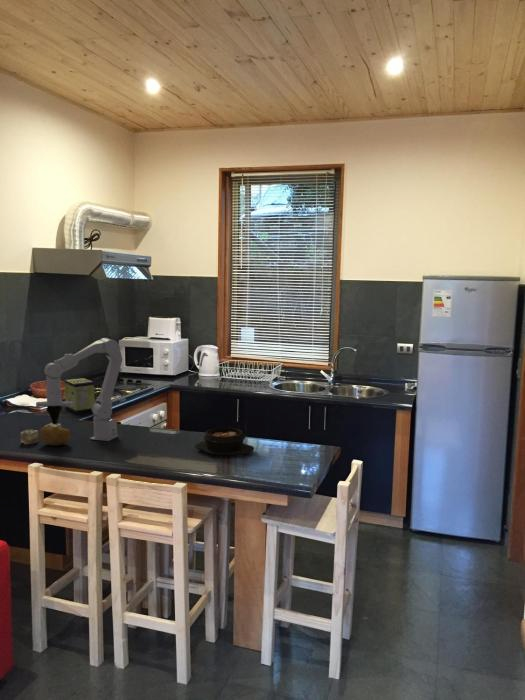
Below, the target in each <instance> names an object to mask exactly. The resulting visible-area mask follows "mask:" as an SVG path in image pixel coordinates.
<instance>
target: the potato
mask: <svg viewBox="0 0 525 700" xmlns="http://www.w3.org/2000/svg"><path fill="white" fill-rule="evenodd" d="M44 426H45V427H44ZM44 426H43V427H41V428H40V430H39V437H40V439H41V441H42V442H43V443H45V444H46V445H49V446H51V447H55V446H56V447H57V446H63V445H65V444H67V443H68V442H69V441H70V440H71V436H72V434H71V431H70V430H69V429H68V428H64V427H62V426H61V427H55V426H46V425H44Z"/></svg>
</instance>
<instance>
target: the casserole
mask: <svg viewBox="0 0 525 700" xmlns="http://www.w3.org/2000/svg"><path fill="white" fill-rule="evenodd" d="M243 432H244V431H243V430H242V429H239V428H236V427H229V426H228V427H227V426H226V427H215V428H211V429H208V430H207V431H205V434H204V436H203V439H204V440H203V441H200V442H198V443H196V444H195V445H194V448H195V449H197V450H201V451H203V452H205V453H208V454H211V455H215V456H223V457H225V456H232V455H236V456H242V455H247V454H250V453H251V452H254V450H255V446H252V445H251V444H247V443H245V442H244V440H245V439H246V436H245V434H244V433H243Z"/></svg>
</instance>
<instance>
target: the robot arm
mask: <svg viewBox="0 0 525 700" xmlns="http://www.w3.org/2000/svg"><path fill="white" fill-rule="evenodd" d="M96 353H98V354H104V355H105V356H106V358H107V359H108V361H109V362H108V365H107V367H106V372H105V375H104V380H103V382H102V385H101V389H100V392H99V395H98V396H97V397H96V399H95V403H94V404H93V405H92V411H91V413H92V414H93V420H92V421H93V436H92V437H89V440H94V441H104V442H105V441H107V442H109V441H112V440H114V439H115V438H118V437H119V435H118V427H117V426H118V425H117V420H116V419H114V418H111V416H112V414H113V408H112V407H113V400H112V397H113V394H114V390H115V387H116V384H117V382H118V381H117V380H118V377H119V374H120V370H121V367H122V364H123V356H122V352H121V346H120V344H119V343H118V342H117V341H116V340H115V339H110V338H109V337H103V338H100V339H99V340H96V341H94V342H92V343H91V344H89V345H88V346H86V347H84V348H83V349H81V350H80V351H77V352H76V353H74V354H73V353H65V354H64V355H63V357H61V358H58V359H55V360H53V362H49V363H47V364H46V365H45V367H44V369H43V373H44V374H45V378H46V379H45V380H46V381H45V384H46V385H45V386H46V387H45V388H46V389H45V390H46V401H45V400H44V401H37V402H35V407H36V408H45V407H46V412H47V413H48V415H49V416H50V419H51V423H53V424H59V422H58V421H59V417H60V414H61V411H62V409H63V408H64V407H65V408H66V407H72V406H73V402H69V401H65V400H62V381H61V376H62V374H63V373H65V372H67V371H69V370H70V369H72V368H74V367H76V366H78V364H79V363H78V362H79V361H81V360H83V359H86V358H87V357H89V356H92V355H93V354H96Z"/></svg>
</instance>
